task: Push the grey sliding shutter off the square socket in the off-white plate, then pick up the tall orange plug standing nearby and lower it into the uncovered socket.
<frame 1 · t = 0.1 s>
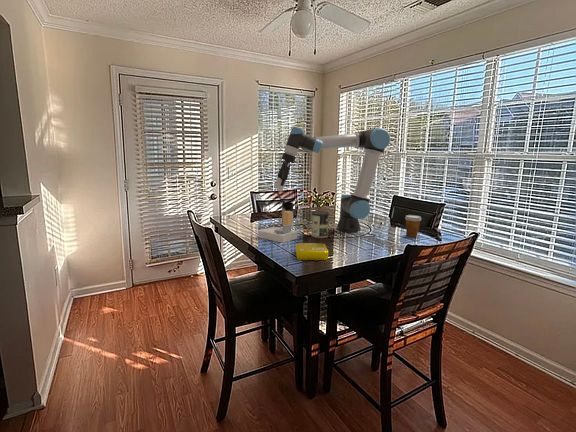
hand: (277, 189, 197), 28 cm above the table, tool tilted 20°, fingers open, 13 cm apart
disposable coffee cup: (411, 235, 210), on the table
shutter: (283, 228, 196), point 6 cm above the table, slide at 0.0 cm
plug: (287, 232, 213), on the table
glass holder: (291, 224, 234), on the table
socket plate: (278, 237, 199), on the table
coffee can: (319, 236, 206), on the table
element tile: (311, 256, 168), on the table
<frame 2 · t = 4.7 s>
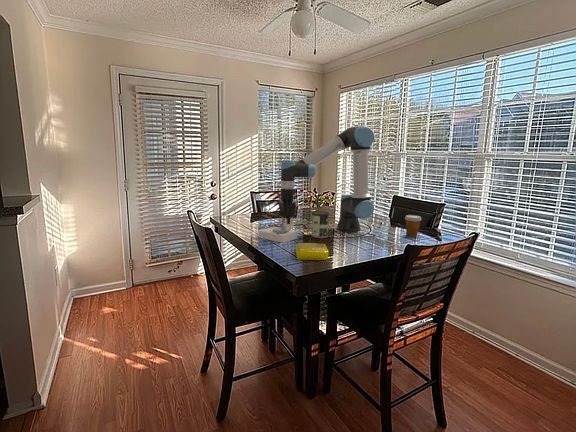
hand: (286, 229, 195), 6 cm above the table, tool pointing down, fingers closed
shutter: (281, 227, 197), point 6 cm above the table, slide at 1.5 cm, touching gripper
everything else where it was.
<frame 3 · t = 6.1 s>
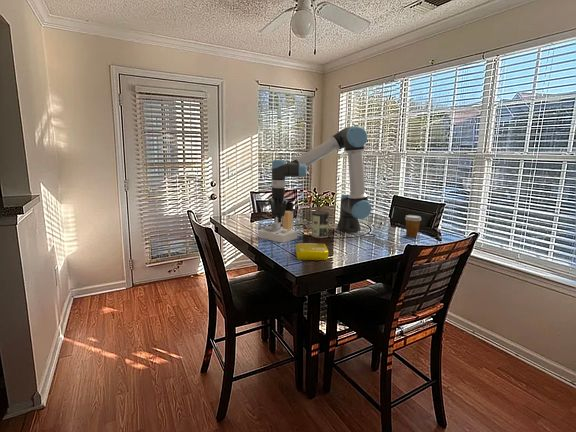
hand: (277, 227, 198), 6 cm above the table, tool pointing down, fingers closed
shutter: (272, 225, 201), point 6 cm above the table, slide at 8.0 cm, touching gripper
everything else where it was.
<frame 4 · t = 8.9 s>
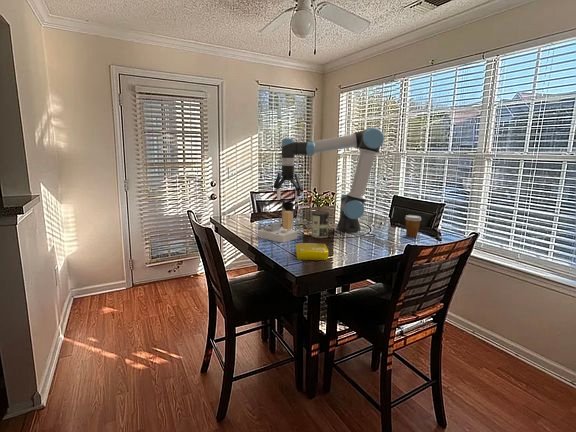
hand: (287, 200, 207), 20 cm above the table, tool pointing down, fingers open, 13 cm apart
shutter: (272, 225, 201), point 6 cm above the table, slide at 8.2 cm
everything else where it was.
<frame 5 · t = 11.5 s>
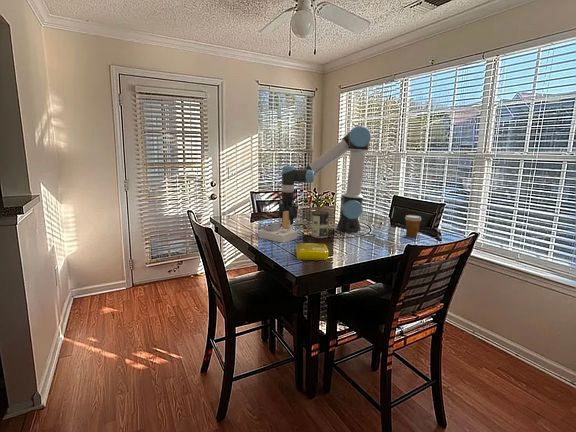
hand: (287, 228, 212), 2 cm above the table, tool pointing down, fingers closed on plug, 4 cm apart
plug: (287, 232, 213), on the table, touching gripper
everything else where it was.
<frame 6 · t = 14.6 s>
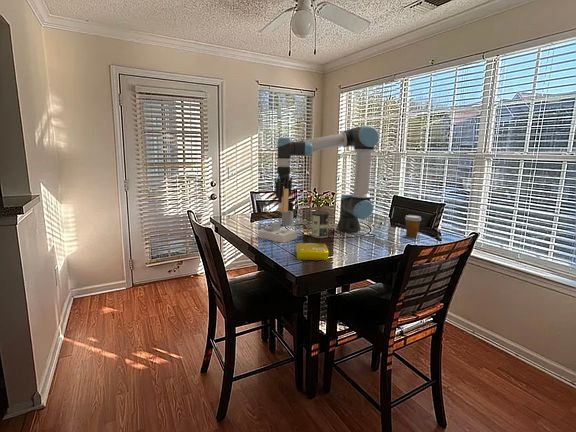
hand: (283, 207, 194), 18 cm above the table, tool pointing down, fingers closed on plug, 4 cm apart
plug: (283, 211, 194), point 16 cm above the table, touching gripper
everything else where it was.
when the fingers open (5 cm above the table, at t = 17.6 s): plug drops 3 cm, resting in socket plate.
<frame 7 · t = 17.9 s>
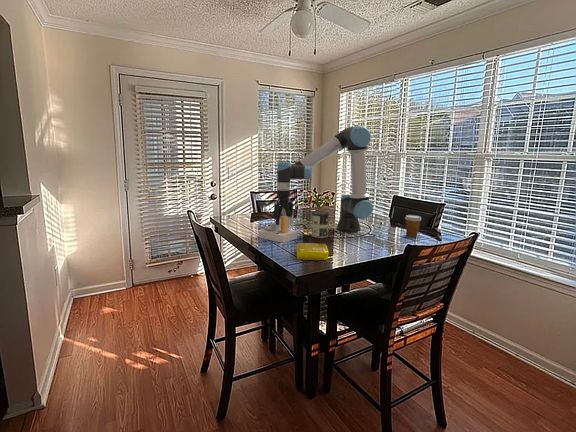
hand: (283, 228, 196), 6 cm above the table, tool pointing down, fingers open, 8 cm apart
plug: (282, 238, 197), resting in socket plate
everything else where it was.
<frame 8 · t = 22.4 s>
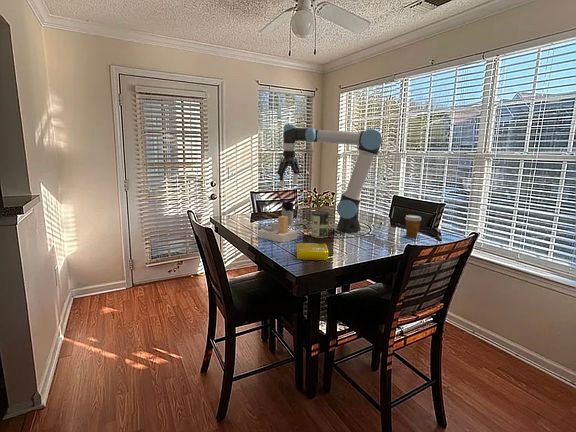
hand: (288, 185, 214), 29 cm above the table, tool pointing down, fingers open, 13 cm apart
nothing on the table moved.
at the end: plug 0.0 cm from the target spot on the socket plate, point 0.0 cm above the socket plate's base; plug tilted 0°; shutter slide at 8.2 cm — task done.
